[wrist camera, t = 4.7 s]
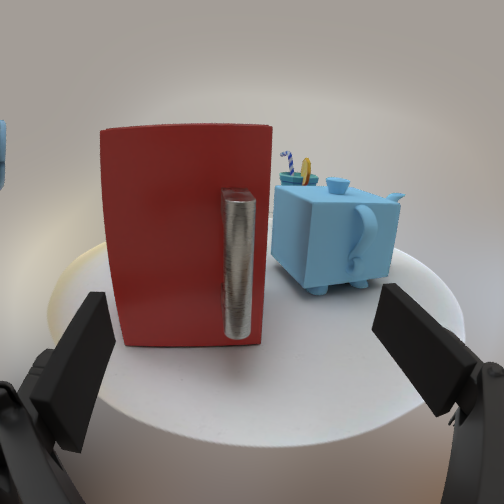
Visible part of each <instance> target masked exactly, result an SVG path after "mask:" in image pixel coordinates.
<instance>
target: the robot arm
mask: <svg viewBox="0 0 504 504" xmlns="http://www.w3.org/2000/svg"><path fill="white" fill-rule="evenodd" d="M5 152H6V123H5V122H4V120H0V190H1V189H2V188H3V186H4V181H5ZM372 331H373V332H374V334H375V335H376V336H377V338H378V339H379V340H380V342H381V343H382V344H383V345H384V347H385V348H386V349H387V351H388V352H389V353H390V355H391V356H392V357H393V359H394V360H395V361H396V363H397V364H398V365H399V367H400V368H401V369H402V371H403V372H404V373H405V375H406V376H407V378H408V379H409V380H410V382H411V383H412V384H413V386H414V387H415V389H416V390H417V391H418V393H419V394H420V395H421V397H422V398H423V400H424V401H425V402H426V404H427V405H428V407H429V408H430V409H431V411H432V412H433V414H434V415H435V416H436V417H439V416H441V415H443V414H446V413H448V412H449V411H450V409H451V408H452V407H453V405H454V403H455V402H456V403H457V404H458V406H459V407H458V409H457V410H456V412H455V413H454V415H453V417H452V418H451V419H450V421H449V423H448V425H451V423H452V422H453V421H454V420H455V424H454V425H453V426H454V434H453V442H452V449H451V456H450V461H449V467H448V472H447V477H446V482H445V487H444V491H443V496H442V500H441V504H504V369H503V367H502V366H500V365H499V364H497V363H494V362H487V363H483V362H482V361H481V360H480V359H479V358H478V357H477V356H476V355H475V354H474V353H473V352H472V351H471V350H470V349H469V348H468V347H467V346H465V344H464V343H463V342H462V341H460V339H459V338H458V337H457V336H456V335H455V334H454V333H453V332H451V331H449V330H448V329H446V328H443V327H442V326H441V325H440V324H439V323H438V322H437V321H436V320H435V319H434V318H433V317H432V316H431V315H430V314H428V313H427V312H426V311H425V310H424V309H423V308H422V307H421V306H420V305H419V304H418V303H417V302H416V301H414V300H413V299H412V298H411V297H410V296H409V295H408V294H407V293H406V292H404V291H403V290H402V289H401V288H400V287H399V286H398V285H397V284H396V283H391V284H383V286H382V291H381V295H380V299H379V303H378V307H377V311H376V315H375V319H374V322H373V326H372ZM115 342H116V340H115V336H114V332H113V328H112V323H111V319H110V314H109V310H108V305H107V300H106V295H105V292H89V294H88V295H87V297H86V298H85V300H84V302H83V303H82V305H81V306H80V308H79V309H78V311H77V313H76V314H75V316H74V317H73V319H72V321H71V322H70V324H69V326H68V327H67V329H66V331H65V332H64V334H63V336H62V337H61V339H60V341H59V342H58V344H57V346H56V348H55V349H46V350H44V351H43V352H42V353H41V354H40V355H39V356H38V357H37V358H36V360H35V362H34V363H33V367H31V369H30V370H29V372H28V374H27V376H26V377H25V379H24V381H23V383H22V385H21V387H20V388H19V390H18V392H17V393H16V391H15V389H14V387H13V386H12V384H10V383H8V382H5V381H0V504H19V499H18V494H17V491H18V493H19V495H20V498H21V500H22V502H23V504H86V503H85V502H84V500H83V499H82V497H81V496H80V494H79V492H78V491H77V489H76V487H75V486H74V484H73V483H72V481H71V479H70V477H69V476H68V474H67V472H66V470H65V469H64V467H63V465H62V463H61V461H60V459H59V457H58V455H57V454H56V452H55V451H54V449H53V447H54V444H55V441H57V443H58V444H59V446H60V447H61V449H63V450H67V451H71V452H76V453H81V450H82V447H83V443H84V439H85V435H86V432H87V428H88V425H89V421H90V418H91V414H92V411H93V408H94V404H95V401H96V398H97V395H98V392H99V389H100V386H101V383H102V380H103V377H104V374H105V371H106V368H107V365H108V362H109V359H110V356H111V353H112V351H113V348H114V345H115Z"/></svg>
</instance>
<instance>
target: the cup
mask: <svg viewBox="0 0 504 504" xmlns="http://www.w3.org/2000/svg"><path fill="white" fill-rule="evenodd" d="M280 155H281V156H286V155H288V160H289V169H290V172H283V173H280V180H281V186H316V183H318V177H317V176H316V175H313V174H311V163H310V160H309V158H305V159H304V160H303V163H302V168H301V173H296V172H294V169H293V160H292V155H291V153H290V151H286V152H283V153H280Z"/></svg>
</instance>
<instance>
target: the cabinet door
mask: <svg viewBox="0 0 504 504" xmlns="http://www.w3.org/2000/svg"><path fill="white" fill-rule="evenodd" d="M272 130H273V129H272V126H255V125H165V126H146V127H132V128H121V129H110V130H101V131H100V164H101V186H102V201H103V213H104V224H105V234H106V242H107V250H108V258H109V265H110V272H111V278H112V284H113V290H114V296H115V301H116V306H117V311H118V316H119V321H120V326H121V330H122V335H123V339H124V344H125V345H127V346H225V345H248V344H261V333H262V318H263V302H264V286H265V269H266V251H267V233H268V214H269V195H270V175H271V174H270V173H271V153H272Z"/></svg>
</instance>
